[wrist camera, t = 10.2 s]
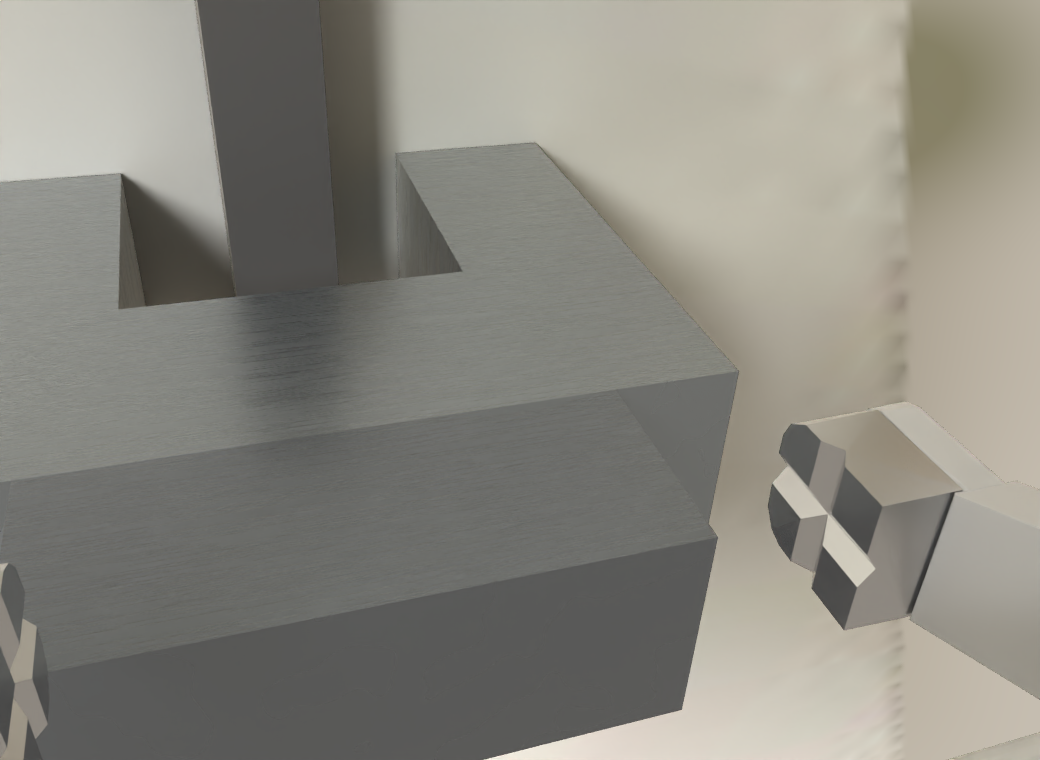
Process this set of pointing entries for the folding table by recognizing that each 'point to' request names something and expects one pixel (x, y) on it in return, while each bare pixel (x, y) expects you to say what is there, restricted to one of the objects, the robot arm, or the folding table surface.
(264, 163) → the plug
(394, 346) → the grey notched block
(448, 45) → the folding table surface
